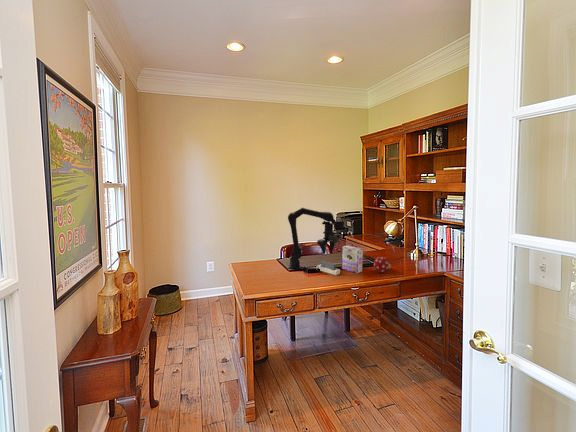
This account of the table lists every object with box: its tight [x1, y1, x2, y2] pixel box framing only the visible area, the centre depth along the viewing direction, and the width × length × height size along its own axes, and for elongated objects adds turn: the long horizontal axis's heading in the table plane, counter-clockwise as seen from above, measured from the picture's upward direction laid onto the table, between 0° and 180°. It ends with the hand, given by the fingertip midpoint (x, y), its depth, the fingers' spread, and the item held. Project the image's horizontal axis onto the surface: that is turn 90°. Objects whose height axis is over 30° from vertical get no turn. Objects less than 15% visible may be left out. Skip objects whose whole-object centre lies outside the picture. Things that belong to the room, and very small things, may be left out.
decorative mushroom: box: [373, 256, 392, 273], centre depth 224 cm, size 11×11×15 cm
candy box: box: [341, 244, 364, 274], centre depth 223 cm, size 14×6×16 cm, turn 41°
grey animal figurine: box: [320, 260, 337, 270], centre depth 221 cm, size 11×3×6 cm, turn 48°
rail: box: [316, 264, 341, 276], centre depth 221 cm, size 16×5×3 cm, turn 48°
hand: (328, 252), depth 226 cm, fingers open, 9 cm apart
